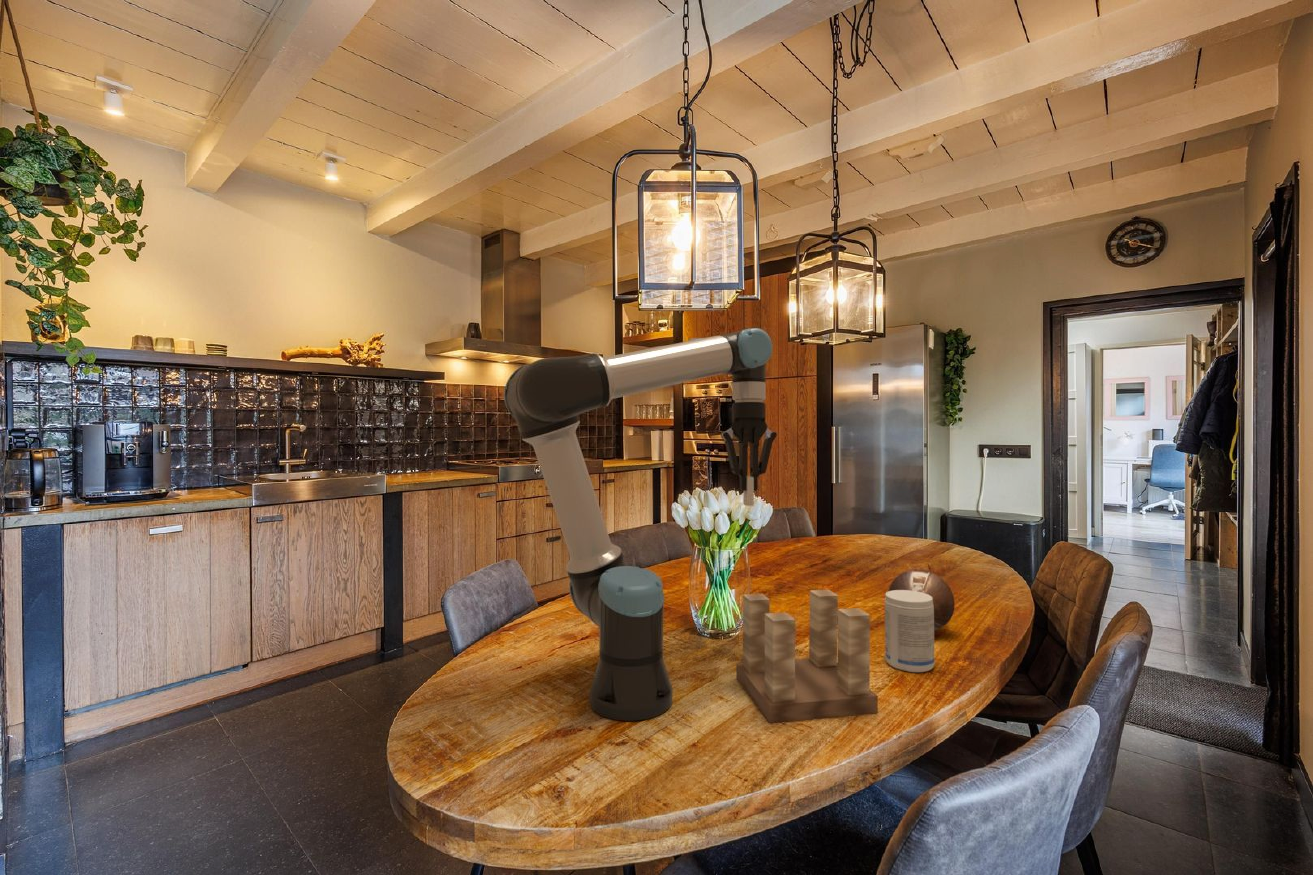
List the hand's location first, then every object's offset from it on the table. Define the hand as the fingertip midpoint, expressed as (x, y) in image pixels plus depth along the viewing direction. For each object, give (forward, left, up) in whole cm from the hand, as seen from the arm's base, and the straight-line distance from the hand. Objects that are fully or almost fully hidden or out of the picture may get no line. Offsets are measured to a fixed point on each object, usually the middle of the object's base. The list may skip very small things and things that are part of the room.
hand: (748, 504), depth 133 cm
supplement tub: (+30, -16, -33) cm, 47 cm away
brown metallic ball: (+45, +2, -33) cm, 56 cm away
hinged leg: (+9, -19, -29) cm, 36 cm away
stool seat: (+2, -25, -32) cm, 41 cm away
